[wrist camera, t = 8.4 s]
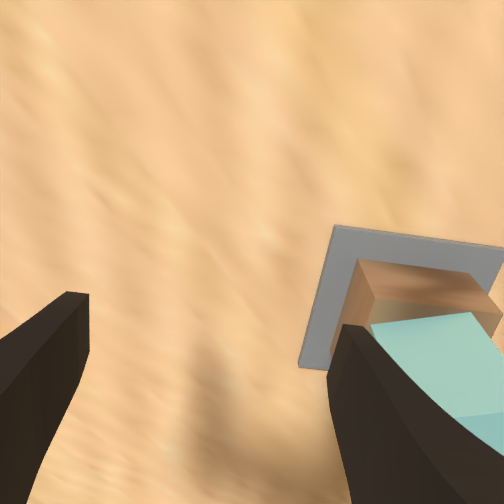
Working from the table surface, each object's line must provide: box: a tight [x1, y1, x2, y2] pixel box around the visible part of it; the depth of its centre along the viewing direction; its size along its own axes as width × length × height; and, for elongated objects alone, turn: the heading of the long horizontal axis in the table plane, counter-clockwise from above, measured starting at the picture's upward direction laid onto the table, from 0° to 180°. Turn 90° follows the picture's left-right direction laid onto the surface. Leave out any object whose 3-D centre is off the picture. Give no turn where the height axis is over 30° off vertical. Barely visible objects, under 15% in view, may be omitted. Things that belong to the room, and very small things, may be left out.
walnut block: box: [330, 258, 503, 357], centre depth 24 cm, size 6×6×4 cm
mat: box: [298, 225, 504, 370], centre depth 25 cm, size 9×9×1 cm
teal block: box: [370, 312, 504, 456], centre depth 20 cm, size 4×4×6 cm
